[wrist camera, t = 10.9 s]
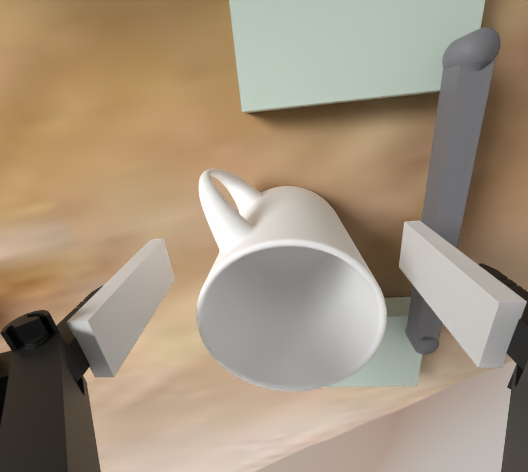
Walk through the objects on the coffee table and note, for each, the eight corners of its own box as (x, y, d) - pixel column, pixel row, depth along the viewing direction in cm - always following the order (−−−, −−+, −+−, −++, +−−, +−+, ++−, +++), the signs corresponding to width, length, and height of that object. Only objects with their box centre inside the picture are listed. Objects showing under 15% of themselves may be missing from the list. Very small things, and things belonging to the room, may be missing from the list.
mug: (271, 119, 19) (260, 115, 9) (359, 245, 22) (422, 346, 12) (184, 192, 21) (98, 252, 11) (275, 295, 24) (270, 413, 15)
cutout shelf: (230, -39, 15) (213, -91, 12) (471, -78, 14) (540, -150, 10) (274, 365, 28) (273, 404, 24) (406, 363, 27) (426, 402, 23)
